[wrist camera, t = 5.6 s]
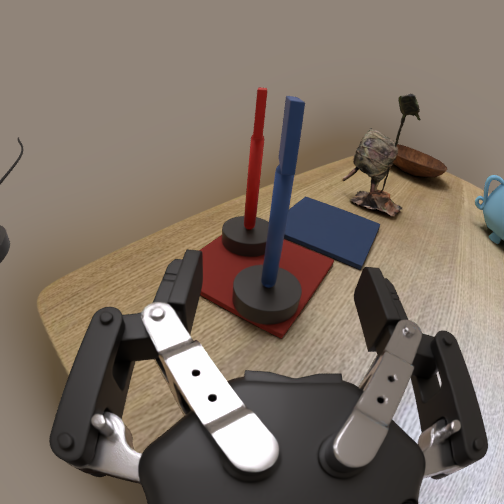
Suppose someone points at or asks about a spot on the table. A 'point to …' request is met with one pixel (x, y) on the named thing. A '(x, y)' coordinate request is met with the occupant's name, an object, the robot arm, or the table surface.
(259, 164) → the red paddle on stand
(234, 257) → the red mat
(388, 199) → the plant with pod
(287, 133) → the blue signpost
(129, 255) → the table surface
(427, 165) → the bowl
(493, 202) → the teapot
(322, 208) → the blue mat
